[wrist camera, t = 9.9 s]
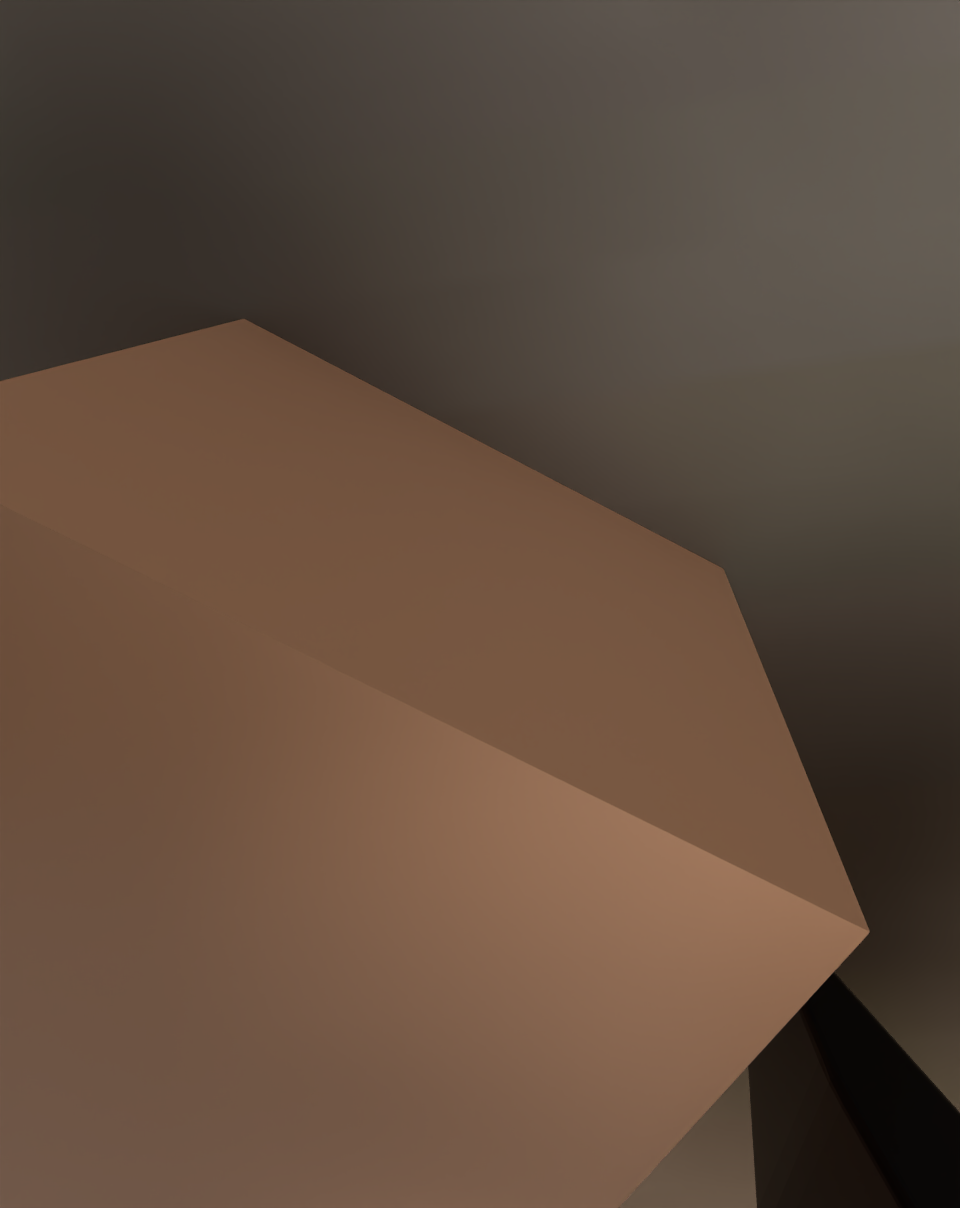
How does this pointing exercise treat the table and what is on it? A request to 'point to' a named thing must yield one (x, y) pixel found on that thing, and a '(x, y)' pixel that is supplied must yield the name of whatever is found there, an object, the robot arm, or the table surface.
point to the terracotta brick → (368, 806)
